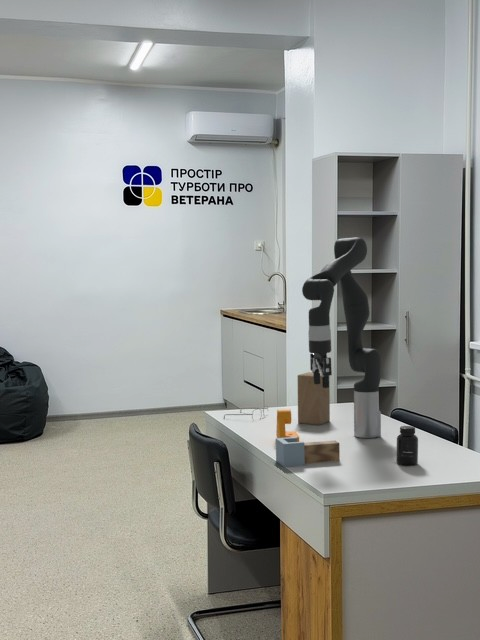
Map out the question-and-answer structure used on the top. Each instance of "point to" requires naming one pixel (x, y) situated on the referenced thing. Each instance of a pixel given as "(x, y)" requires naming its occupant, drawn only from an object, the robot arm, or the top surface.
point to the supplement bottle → (407, 446)
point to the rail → (321, 451)
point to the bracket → (283, 419)
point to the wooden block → (312, 400)
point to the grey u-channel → (290, 452)
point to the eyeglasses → (248, 414)
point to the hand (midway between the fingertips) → (321, 385)
